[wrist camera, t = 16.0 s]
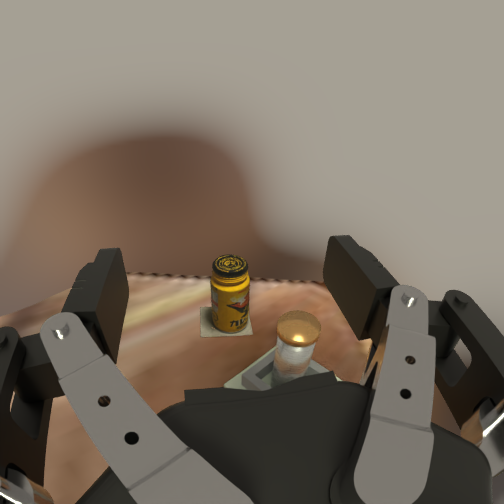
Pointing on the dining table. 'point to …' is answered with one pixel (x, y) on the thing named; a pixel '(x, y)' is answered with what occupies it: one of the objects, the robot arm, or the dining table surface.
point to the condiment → (227, 299)
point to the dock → (264, 373)
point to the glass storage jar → (294, 346)
